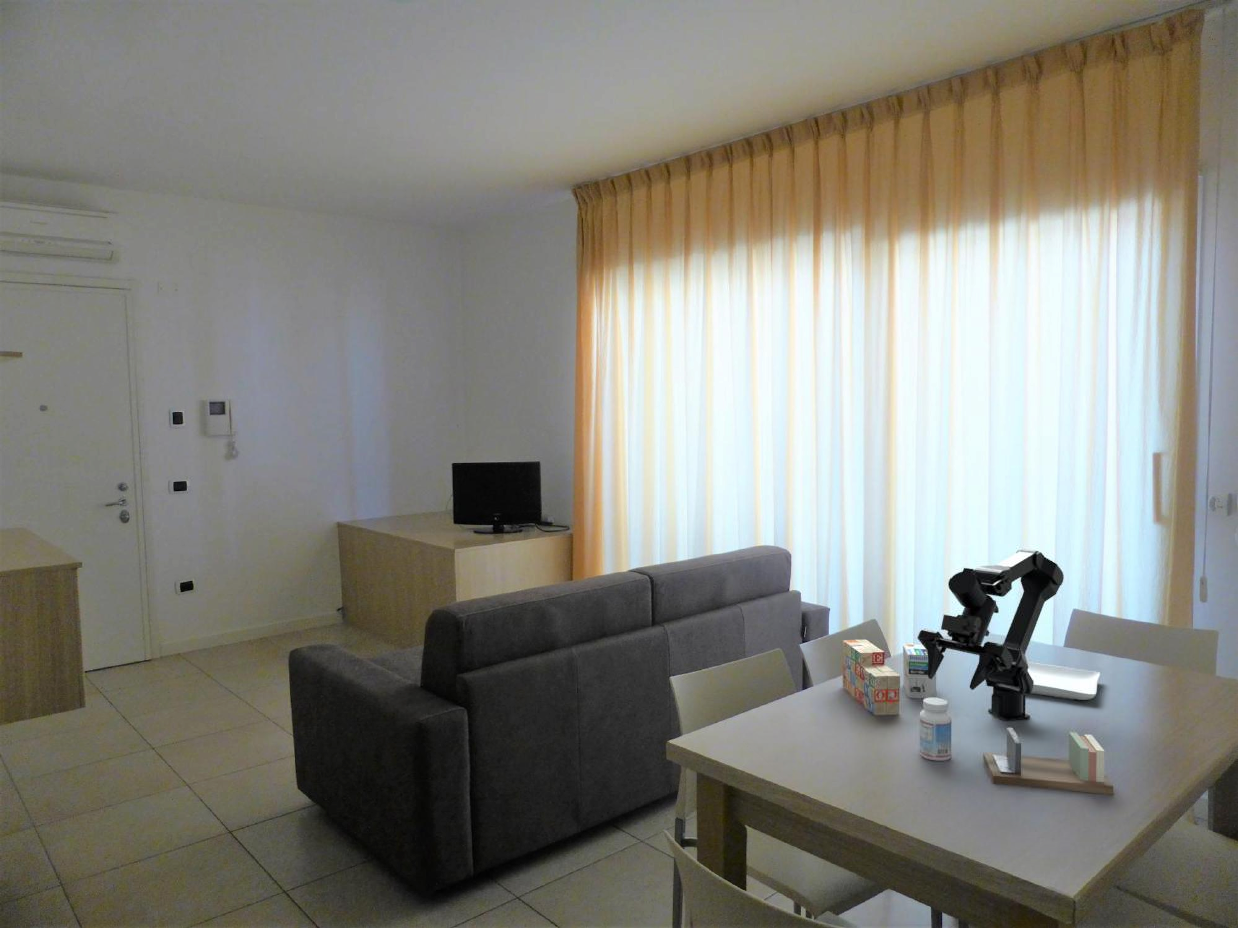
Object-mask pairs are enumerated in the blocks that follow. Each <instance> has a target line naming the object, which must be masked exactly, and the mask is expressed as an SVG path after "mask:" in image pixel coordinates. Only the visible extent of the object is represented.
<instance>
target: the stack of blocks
mask: <svg viewBox="0 0 1238 928" xmlns="http://www.w3.org/2000/svg"><path fill="white" fill-rule="evenodd" d="M841 644H842V653H841V654H842V687H844V688H843V689H845V690H846V692H847V691H848V692H849V693H848V692H847V693H848V694H849V695H850V696H852V698H854V697H855V698H856V699H855V698H854V699H855V700H857V701H858V702H859V703H860V702H861V703H860V704H861V705H862V706H863V707H864V708H865V709H866V710H867V711H869V712H870V713H871V714H872V715H873V716H890V715H891V716H892V715H893V716H894V715H900V689H901V675H900V674H899V673H897V672H896V671H895V670H893V669H892V668H891V667H890V666H888V665H886V664H885V662H886V661H885V658H886V657H885V651H884V650H883V649H880V648H879V647H877V646H876V645H875V644H873V643H871V642H870V641H869V640H867V639H846V640H842V643H841Z"/></svg>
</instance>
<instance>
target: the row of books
mask: <svg viewBox="0 0 1238 928" xmlns="http://www.w3.org/2000/svg"><path fill="white" fill-rule="evenodd" d="M1105 752H1106V750H1104V748H1103V747H1102V746H1101V744H1100V743H1099V742H1098V741H1097V740H1096V738H1095V737H1094V736H1093V734H1083V735H1079V734H1078V733H1077V732H1073V731H1069V733H1068V760H1069V764H1070V766H1071V767H1072V769H1073V770H1074V772H1075V773H1076V775H1077V776H1078V777H1079V779H1080V780H1084V781H1096V782H1104V775H1105V761H1106V760H1105V758H1106V757H1105V756H1106V755H1105Z"/></svg>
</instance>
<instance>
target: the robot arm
mask: <svg viewBox="0 0 1238 928" xmlns="http://www.w3.org/2000/svg"><path fill="white" fill-rule="evenodd" d="M1064 578H1065V577H1064V572H1063V570H1062V569H1061V568H1060V567H1059V565H1058V564H1057V563H1056V562H1055V561H1052V559H1049V558H1047V557H1045V555H1044V554H1043V552H1041V551H1038V550H1035V549H1034V550H1032V549H1026V548H1025V549H1023V548H1022V549H1018V550H1017V551H1016V553H1014V554H1013V555H1011V556H1009V557H1007V558H1005V559H1004V560H1002V561H1000V562H999V563H997V564H995V565H983V566H978V567H976V568H975V569H974V568H972V567H971V568H970V567H963V570H962V571H959V572H957V573H955V574H953V576H951V577H950V578H949V579H948V588H949V590H950V592H951V593H952V595H953V596H954V597H955V599H956V600H957V601H958V603H959V605H961V606H962V607H963V609H962V610H963V611H962V613H961V614H957V615H956V616H955V615H947V614H943V617H942V622H941V626H940V630H943V631H947V633H946V634H947V635H948V637H950V638H951V639H948V638H945V637H944V636H943V635H942V634H941V632H940V631H939V630H932V629H928V628H923V629H921V630H920V631H919V632H918V635H917V639H918V641H919V642H920V644H921V645H923V646H924V647H925V648H926V650H927V652H928V678H929V679H932V678H933V677H934V675H935V674H936V675H937V672H938V670H939V668H940V666H941V664H942V661H943V660H944V658H945V656H944V653H946V651H947V650H953V651H959V652H962V653H966V654H970V655H975V656H978V663H977V667H976V669H975V670H974V673H973V676H972V677H971V681H970V683H969V689H970V690H972V691H973V690H975V689H976V688H977V687H979V685H981V684H982V683H983V682H984V681H985V685H986V687H991V688H992V694H991V698H990V699H991V708H989V709H987V712H988V713H990V714H993V715H994V716H996V717H998V718H1001V719H1002V720H1003V721H1016V720H1017V721H1018V720H1025V719H1026V720H1027V719H1031V715H1030V714H1027V713H1026V700H1027V698H1026V697H1027V696H1026V695H1031V694H1032V693H1031V691H1032V690H1033V684H1034V681H1033V679H1032V678H1031V676H1030V674H1029V673H1028V664H1027V662H1028V661H1027V657H1026V653H1027V649H1028V646H1029V644H1030V643H1031V639H1032V637H1033V633H1034V631H1035V629H1036V626H1037V624H1038V621H1039V618H1040V615H1041V612H1042V611H1043V607H1044V604H1045V603H1046V602H1047V601H1049V599H1052V598H1053V597H1054V596H1056V595H1057V593H1058V591H1059V589H1060V587H1061V586H1062V585H1063V583H1064ZM1018 579H1020V584H1021V587H1022V590H1023V593H1022V595H1021V598H1020V600H1019V603H1018V606H1017V608H1016V610H1015V613H1014V616H1013V618H1012V620H1011V624H1010V626H1009V628H1008V631H1007V633H1006V636H1005V639H1004V641H1003V643H997V642H993V641H986V642H984V644H983V641H984V639H985V637H989V634H990V631H989V629H988V628H989V626H990V623H991V621H992V618H993V615H994V614H999V607H998V604H997V601H996V599H995V600H994V598H993V597H992V596H995V597H1001V598H1003V597H1005V596H1006V595H1007V594H1008V593H1009V592H1010V591H1011V590H1012V589H1013V586H1012V584H1013V583H1014V582H1015V581H1017V580H1018ZM982 644H983V646H982Z"/></svg>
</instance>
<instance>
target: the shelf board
mask: <svg viewBox="0 0 1238 928" xmlns="http://www.w3.org/2000/svg"><path fill="white" fill-rule="evenodd" d="M982 755H983V756H982V758H983V759H982V761H983V763H984V766H985V768H986V770H987V773H988V775H989V777H990V779H991V781H992V784H993V785H1005V786H1016V787H1026V788H1039V789H1049V788H1050V790H1059V791H1069V790H1070V791H1071V790H1073V791H1071V792H1081V793H1091V792H1092V794H1093V793H1094V794H1102V793H1103V795H1104V794H1105V795H1114V785H1113V783H1111V781H1110V780H1109V778H1108V777H1107V776H1106V775H1105V774H1104V782H1096V781H1084V780H1080V779H1079V777H1078V776H1077V775H1076V773H1075V772H1074V770H1073V769H1072V767H1071V766H1070V764H1069V759H1063V758H1061V759H1060V758H1049V757H1036V756H1026V755H1025V756H1024V755H1023V756H1022V755H1021V775H1016V774H1005V773H1000V771H999V769H998V767H997V764H996V762H995V760H994V758H993V755H998V756H1007V754H1000V753H988V752H983V753H982ZM1070 791H1069V792H1070Z"/></svg>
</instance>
